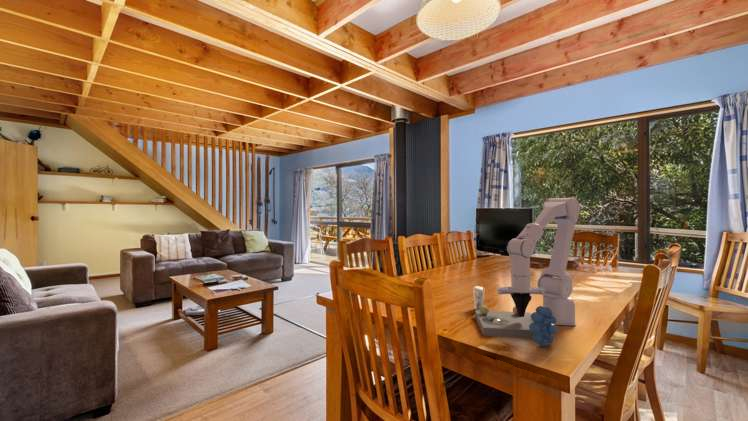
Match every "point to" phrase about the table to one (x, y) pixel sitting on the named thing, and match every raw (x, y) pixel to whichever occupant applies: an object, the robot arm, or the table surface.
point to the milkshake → (478, 297)
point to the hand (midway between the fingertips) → (520, 315)
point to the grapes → (543, 326)
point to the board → (504, 324)
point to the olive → (484, 309)
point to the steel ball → (496, 321)
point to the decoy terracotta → (515, 310)
